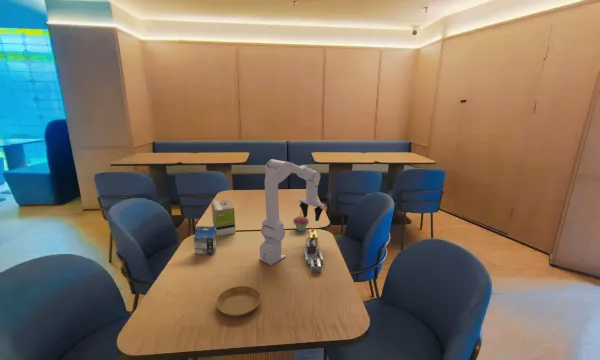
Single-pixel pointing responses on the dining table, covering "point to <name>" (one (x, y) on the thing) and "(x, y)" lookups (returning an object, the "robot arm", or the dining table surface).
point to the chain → (313, 256)
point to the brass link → (313, 236)
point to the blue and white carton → (205, 240)
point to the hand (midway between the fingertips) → (311, 218)
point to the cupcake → (300, 222)
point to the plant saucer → (238, 300)
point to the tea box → (223, 217)
